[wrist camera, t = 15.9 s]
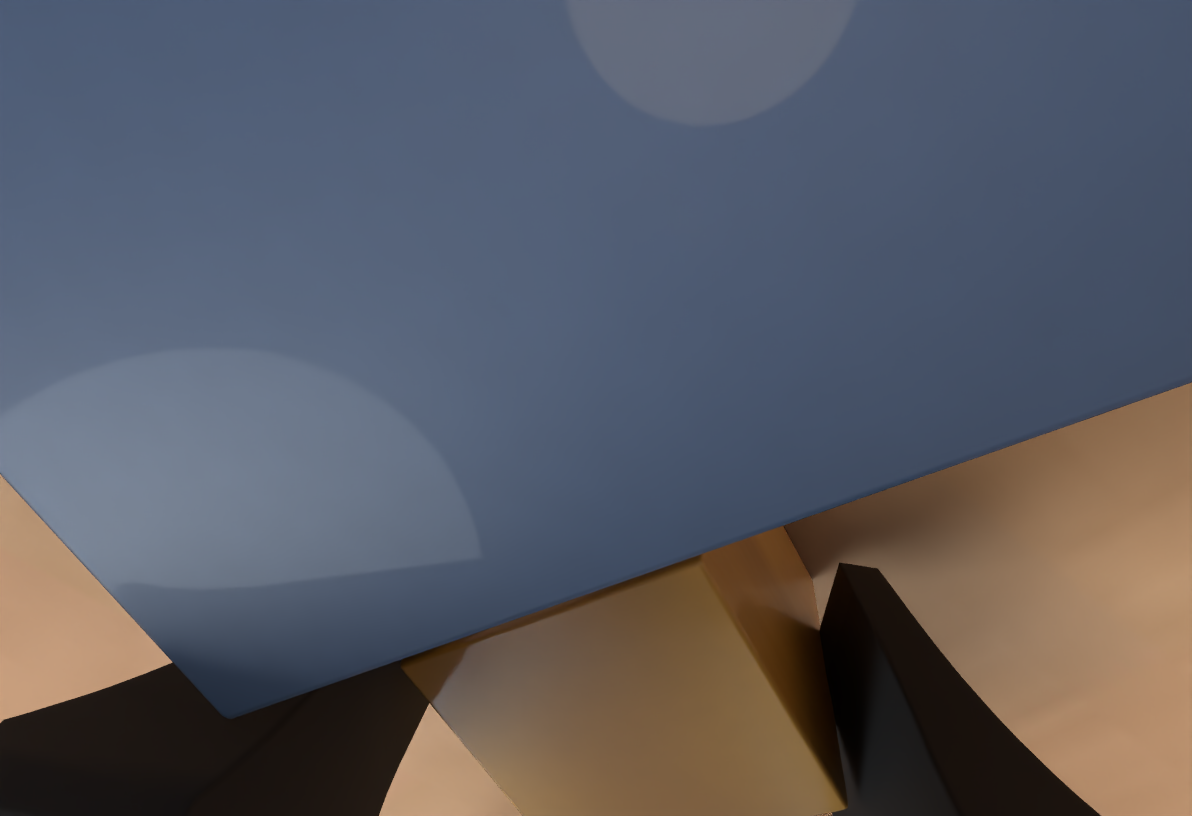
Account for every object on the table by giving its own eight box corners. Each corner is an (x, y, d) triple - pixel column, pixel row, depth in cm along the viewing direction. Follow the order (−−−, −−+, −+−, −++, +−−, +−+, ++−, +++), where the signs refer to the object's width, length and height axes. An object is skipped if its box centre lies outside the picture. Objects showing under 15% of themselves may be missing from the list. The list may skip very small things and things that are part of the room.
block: (606, 647, 15) (565, 870, 11) (491, 479, 14) (396, 666, 10) (813, 581, 14) (851, 810, 10) (707, 385, 12) (701, 560, 8)
